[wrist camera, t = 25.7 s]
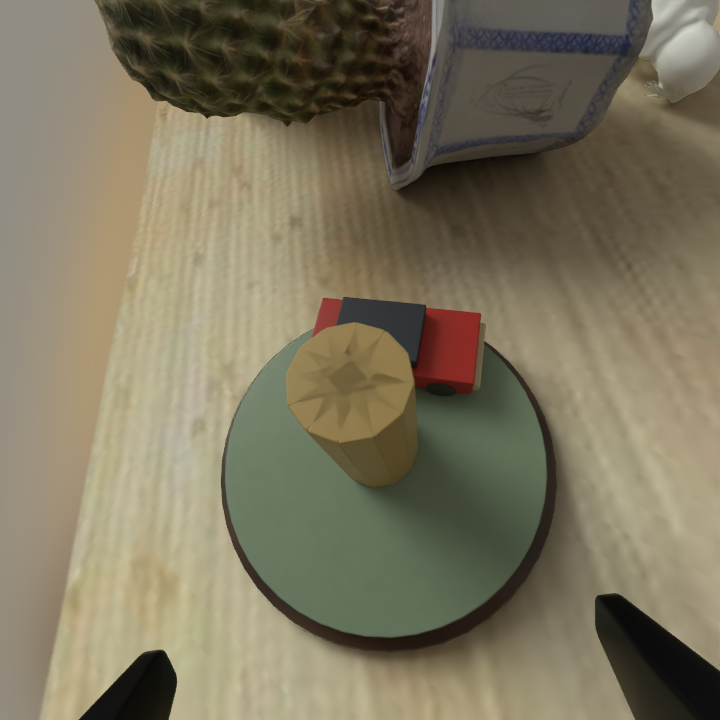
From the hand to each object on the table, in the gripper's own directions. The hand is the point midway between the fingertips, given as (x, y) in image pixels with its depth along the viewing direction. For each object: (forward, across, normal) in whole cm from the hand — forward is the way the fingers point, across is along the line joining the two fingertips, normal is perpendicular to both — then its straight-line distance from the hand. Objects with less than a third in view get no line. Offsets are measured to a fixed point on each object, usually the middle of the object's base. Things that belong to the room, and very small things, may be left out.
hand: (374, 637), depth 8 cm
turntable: (+13, 0, +4) cm, 14 cm away
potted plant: (+31, -4, -13) cm, 34 cm away
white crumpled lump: (+34, -27, -15) cm, 46 cm away
